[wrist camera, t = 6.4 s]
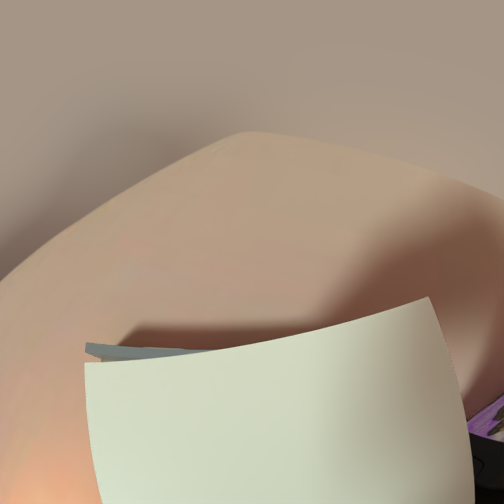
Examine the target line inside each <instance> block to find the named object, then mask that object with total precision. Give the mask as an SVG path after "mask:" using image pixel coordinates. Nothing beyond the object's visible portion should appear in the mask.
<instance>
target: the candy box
mask: <svg viewBox="0 0 504 504" xmlns="http://www.w3.org/2000/svg"><path fill="white" fill-rule="evenodd" d="M466 422H467V427H468V432H470V433H473V434H476V435H479V436H482V437H485V438H489V439H492V440H496V441H501V442H504V393H503V394H502V395H501V396H500V397H498V398H497V399H496V400H495V401H494V402H492V403H491V404H490V405H489V406H487V407H486V408H485V409H483V410H482V411H481V412H479V413H478V414H476V415H475V416H474V417H472V418H471V419H469V420H468V421H466Z"/></svg>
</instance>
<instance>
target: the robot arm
mask: <svg viewBox="0 0 504 504" xmlns="http://www.w3.org/2000/svg"><path fill="white" fill-rule="evenodd" d="M468 433H469V439H470V446H471V453H472V462H473V473H474V488H475V504H504V442H501V441H496V440H492V439H489V438H485V437H482V436H479V435H476V434H473V433H470V432H468Z"/></svg>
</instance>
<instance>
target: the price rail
mask: <svg viewBox="0 0 504 504" xmlns="http://www.w3.org/2000/svg"><path fill="white" fill-rule="evenodd" d="M208 351H214V350H186V349H183V348H157V347H144V348H141V347H127V346H115V345H105V344H95V343H87V342H86V349H85V352H86V353H88V354H90V355H93V356H95V357H98V358H100V359H105V360H113V361H129V360H141V359H152V358H161V357H170V356H178V355H186V354H194V353H201V352H208Z"/></svg>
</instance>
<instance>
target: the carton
mask: <svg viewBox="0 0 504 504" xmlns="http://www.w3.org/2000/svg"><path fill="white" fill-rule="evenodd" d="M85 391H86V407H87V419H88V428H89V437H90V444H91V451H92V457H93V463H94V468H95V474H96V479H97V483H98V488H99V492H100V496H101V500H102V504H475V488H474V473H473V462H472V453H471V446H470V439H469V433H468V427H467V422H466V416H465V411H464V407H463V402H462V398H461V394H460V390H459V386H458V382H457V378H456V374H455V371H454V367H453V364H452V360H451V357H450V354H449V351H448V348H447V345H446V342H445V339H444V336H443V333H442V330H441V327H440V324H439V322H438V319H437V316H436V314H435V311H434V308H433V306H432V303H431V301H430V298H429V296H428V297H425V298H422V299H419V300H417V301H414V302H411V303H408V304H405V305H402V306H399V307H396V308H393V309H389V310H386V311H383V312H380V313H377V314H373V315H370V316H367V317H363V318H360V319H356V320H353V321H349V322H345V323H342V324H338V325H334V326H330V327H326V328H322V329H318V330H314V331H310V332H306V333H302V334H297V335H293V336H289V337H284V338H279V339H275V340H270V341H265V342H260V343H255V344H249V345H244V346H238V347H232V348H227V349H220V350H214V351H208V352H201V353H194V354H186V355H178V356H170V357H161V358H152V359H141V360H129V361H115V362H97V363H85Z"/></svg>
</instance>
